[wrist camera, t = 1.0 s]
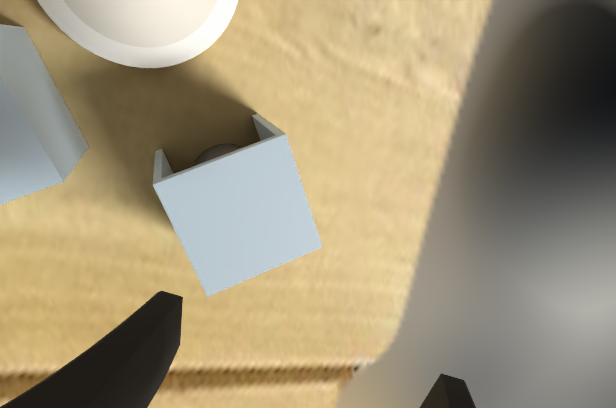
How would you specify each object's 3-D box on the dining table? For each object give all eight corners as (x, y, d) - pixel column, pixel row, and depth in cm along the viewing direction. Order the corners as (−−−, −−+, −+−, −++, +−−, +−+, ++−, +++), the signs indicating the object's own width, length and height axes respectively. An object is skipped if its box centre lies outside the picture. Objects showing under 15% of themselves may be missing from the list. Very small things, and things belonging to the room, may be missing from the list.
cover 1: (197, 241, 24) (207, 296, 19) (155, 150, 22) (152, 184, 17) (289, 204, 25) (322, 246, 20) (257, 113, 23) (286, 133, 18)
